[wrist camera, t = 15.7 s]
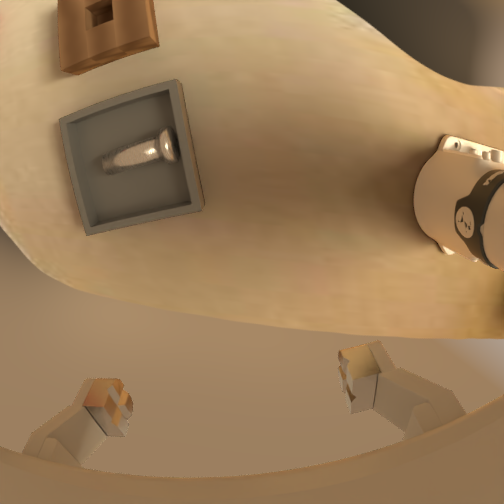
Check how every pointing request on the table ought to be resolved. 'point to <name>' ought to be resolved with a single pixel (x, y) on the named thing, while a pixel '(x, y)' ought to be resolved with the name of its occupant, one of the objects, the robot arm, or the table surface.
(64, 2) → the block
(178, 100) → the tray
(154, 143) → the pin
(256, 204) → the table surface
